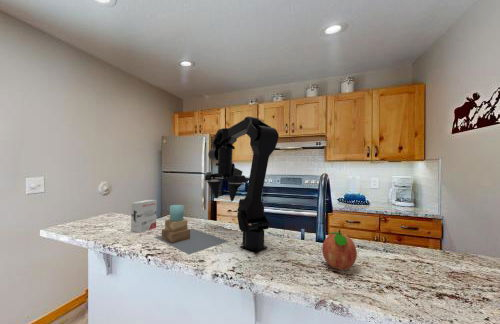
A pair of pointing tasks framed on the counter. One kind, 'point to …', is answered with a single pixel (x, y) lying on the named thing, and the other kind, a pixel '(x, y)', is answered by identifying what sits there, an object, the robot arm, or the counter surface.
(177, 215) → the teal cylinder
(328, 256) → the fruit
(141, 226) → the ink box
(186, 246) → the slate mat
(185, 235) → the walnut base block
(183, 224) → the oak block
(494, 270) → the counter surface
